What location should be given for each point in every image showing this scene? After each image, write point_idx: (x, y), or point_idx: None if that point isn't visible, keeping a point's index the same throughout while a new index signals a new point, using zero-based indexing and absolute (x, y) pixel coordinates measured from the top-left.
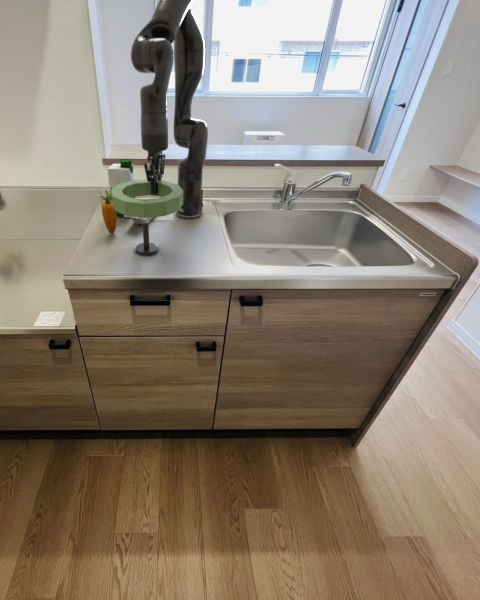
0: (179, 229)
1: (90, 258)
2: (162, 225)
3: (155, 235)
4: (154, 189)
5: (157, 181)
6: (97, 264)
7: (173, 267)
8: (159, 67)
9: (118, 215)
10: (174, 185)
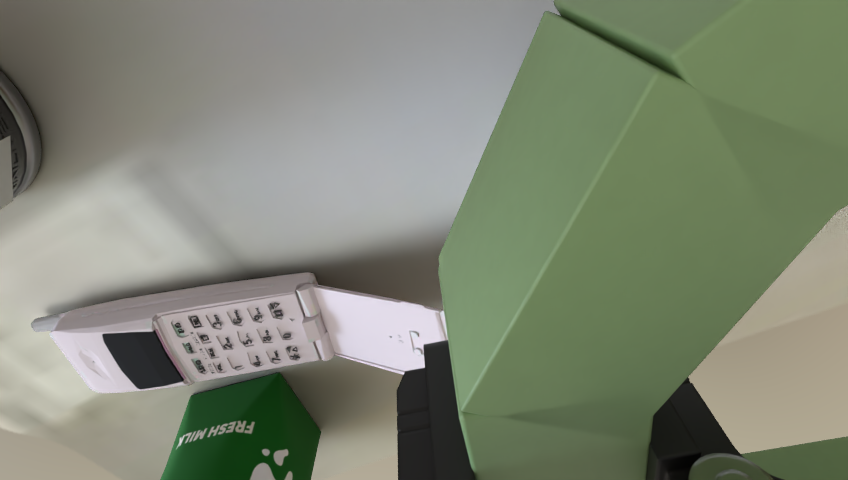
0: (228, 54)
1: (764, 293)
2: (251, 191)
3: (411, 158)
4: (685, 383)
5: (731, 474)
6: (821, 241)
7: None
8: None
9: (309, 421)
10: (763, 125)
